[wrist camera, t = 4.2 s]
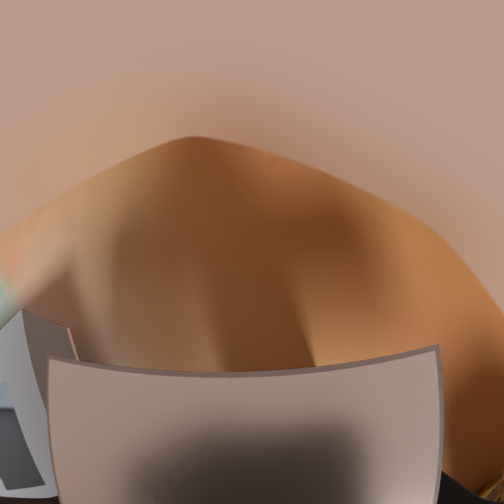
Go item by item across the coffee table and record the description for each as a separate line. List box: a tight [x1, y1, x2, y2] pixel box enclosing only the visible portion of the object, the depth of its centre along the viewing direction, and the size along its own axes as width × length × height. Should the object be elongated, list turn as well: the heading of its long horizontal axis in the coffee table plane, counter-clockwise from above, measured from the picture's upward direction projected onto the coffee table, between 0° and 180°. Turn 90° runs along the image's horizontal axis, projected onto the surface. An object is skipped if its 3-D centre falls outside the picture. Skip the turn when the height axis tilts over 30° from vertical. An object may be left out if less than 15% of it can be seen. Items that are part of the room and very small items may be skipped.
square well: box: [0, 309, 80, 498], centre depth 10 cm, size 14×14×5 cm
